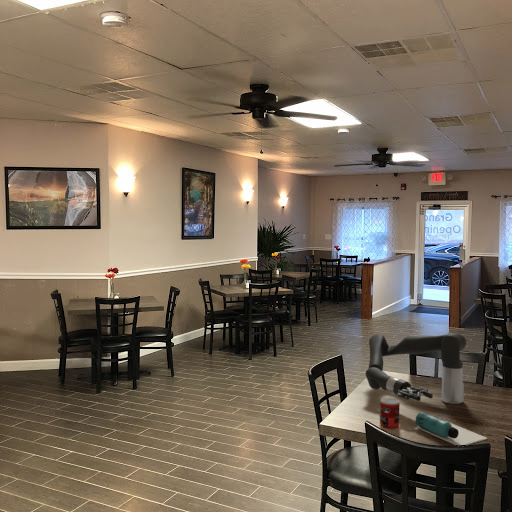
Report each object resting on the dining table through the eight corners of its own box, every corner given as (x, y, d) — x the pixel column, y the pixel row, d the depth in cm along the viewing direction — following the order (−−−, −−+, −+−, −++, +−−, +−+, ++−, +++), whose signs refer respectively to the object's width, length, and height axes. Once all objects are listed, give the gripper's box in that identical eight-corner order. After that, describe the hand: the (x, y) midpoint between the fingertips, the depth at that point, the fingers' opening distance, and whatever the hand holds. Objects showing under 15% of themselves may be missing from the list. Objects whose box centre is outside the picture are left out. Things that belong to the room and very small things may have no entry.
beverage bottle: (425, 414, 228) (464, 429, 211) (419, 428, 227) (457, 444, 209) (416, 407, 225) (454, 422, 208) (409, 421, 224) (447, 438, 206)
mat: (417, 427, 225) (417, 426, 225) (443, 421, 232) (443, 420, 232) (459, 447, 205) (460, 445, 205) (487, 439, 213) (487, 438, 213)
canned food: (377, 422, 230) (377, 397, 230) (395, 422, 231) (395, 397, 230) (383, 429, 223) (383, 403, 222) (401, 429, 223) (402, 403, 223)
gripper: (409, 392, 249) (437, 403, 234) (386, 397, 242) (413, 408, 227) (410, 377, 248) (437, 386, 234) (387, 381, 241) (414, 391, 227)
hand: (425, 397), depth 230 cm, fingers open, 6 cm apart
